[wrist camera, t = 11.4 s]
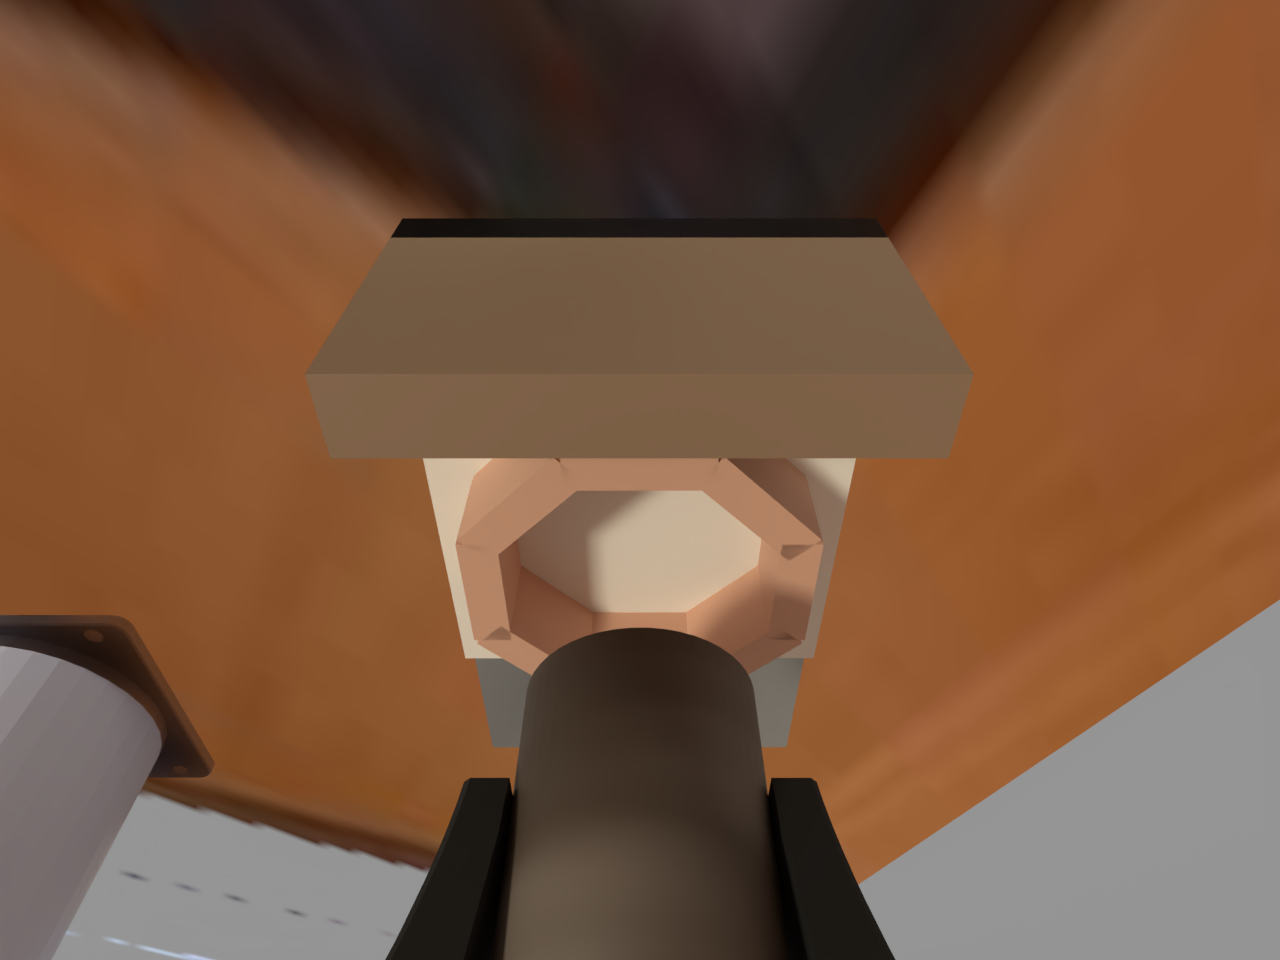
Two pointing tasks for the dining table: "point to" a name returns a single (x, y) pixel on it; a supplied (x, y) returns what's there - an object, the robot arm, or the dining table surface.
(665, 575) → the square socket base
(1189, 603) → the dining table surface
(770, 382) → the l-shaped bracket
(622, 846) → the dowel
